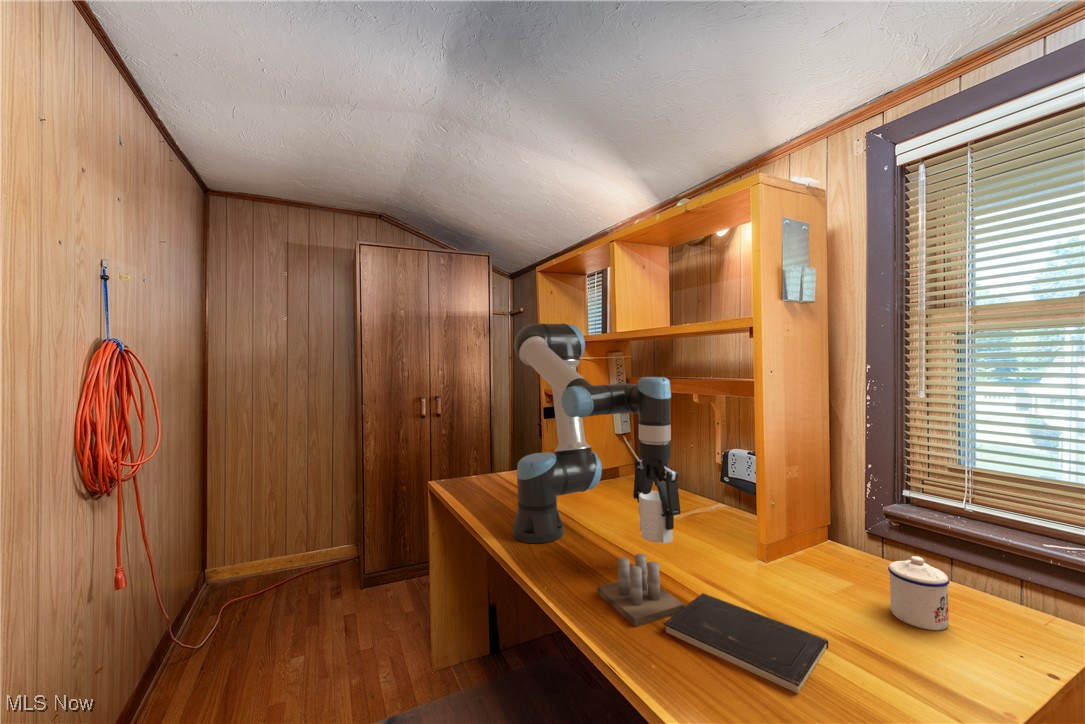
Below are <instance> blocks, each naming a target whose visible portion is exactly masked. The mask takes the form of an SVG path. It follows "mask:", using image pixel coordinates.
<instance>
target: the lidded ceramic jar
mask: <svg viewBox="0 0 1085 724" xmlns="http://www.w3.org/2000/svg"><path fill="white" fill-rule="evenodd" d="M887 570H888V573H889V591H890V592H889V593H890V596H889V597H890V601H889V602H890V611H891V613H892V615H894V616H895V618H897V619H899V620H900V621H901V622H904V623H905V624H907V625H910V626H913V627H916V628H919V629H924V630H928V631H942V630H946V629H947V628H949V623H950V622H949V621H950V618H949V617H950V616H949V615H950V614H949V613H950V612H949V588H948V587H949V586H948V585H949V584H950V579H949V577H948V576H947V574H946V573H945V572H943V571H942V570H940V569H938V568H936V567H933V566H931V565H930V564H928V563H926V562H925V560H924V558H922V557H920V556H913V555H912V556H911V557H910V559H907V560H897V561H893V562H891V563H890V564H888V569H887Z"/></svg>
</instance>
